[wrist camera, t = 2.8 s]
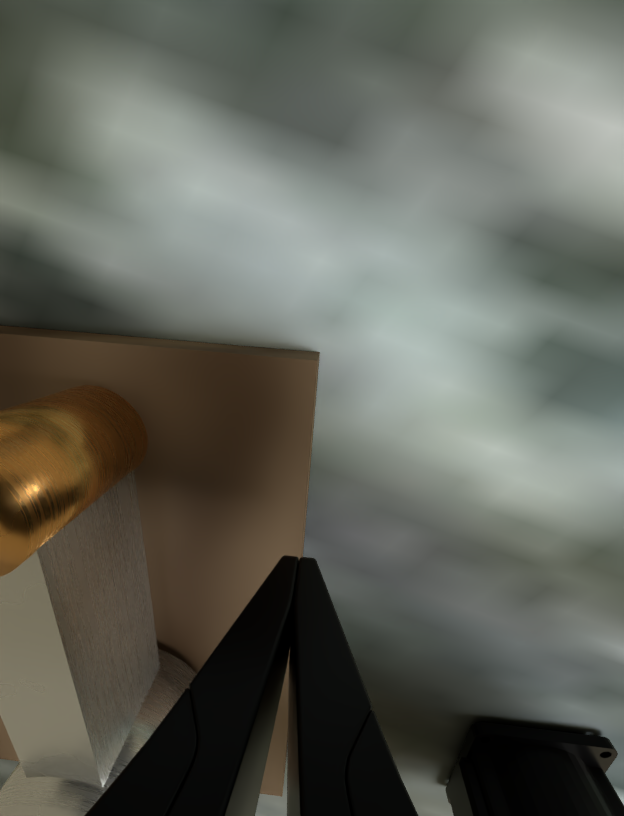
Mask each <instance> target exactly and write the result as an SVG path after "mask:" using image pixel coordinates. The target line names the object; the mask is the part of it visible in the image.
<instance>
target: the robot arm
mask: <svg viewBox="0 0 624 816" xmlns="http://www.w3.org/2000/svg"><path fill="white" fill-rule="evenodd" d="M289 650H290V654H289ZM288 658H289V685H288V773H287V816H418V814H417V812H416V810H415V807H414V805H413V803H412V801H411V799H410V797H409V794H408V792H407V790H406V788H405V786H404V783H403V781H402V779H401V777H400V774H399V772H398V770H397V767H396V765H395V762H394V760H393V757H392V755H391V753H390V750H389V748H388V745H387V743H386V740H385V738H384V735H383V733H382V730H381V728H380V725H379V722H378V720H377V717H376V715H375V712H374V711H372V705H371V702H370V699H369V697H368V694H367V692H366V689H365V686H364V684H363V681H362V679H361V676H360V673H359V671H358V668H357V666H356V663H355V660H354V658H353V655H352V653H351V650H350V647H349V645H348V642H347V639H346V637H345V634H344V632H343V629H342V626H341V624H340V621H339V619H338V616H337V613H336V611H335V608H334V606H333V603H332V600H331V598H330V595H329V593H328V590H327V587H326V585H325V582H324V580H323V577H322V574H321V572H320V569H319V566H318V564H317V561H316V560H315V559H314V558H307V557H300V559H299V558H298V557H297V556H289V555H284V556H282V557H281V559H280V560H279V561H278V563H277V564H276V565H275V567H274V568H273V570H272V571H271V572H270V574H269V575H268V576H267V578H266V579H265V581H264V582H263V583H262V585H261V586H260V587H259V589H258V590H257V592H256V593H255V594H254V596H253V597H252V598H251V600H250V601H249V603H248V604H247V605H246V607H245V608H244V609H243V611H242V612H241V614H240V615H239V616H238V618H237V619H236V620H235V622H234V623H233V625H232V626H231V627H230V629H229V630H228V632H227V633H226V634H225V636H224V637H223V638H222V640H221V641H220V643H219V644H218V645H217V647H216V648H215V649H214V651H213V652H212V654H211V655H210V656H209V658H208V659H207V660H206V662H205V663H204V665H203V666H202V667H201V669H200V670H199V671H198V673H197V674H196V676H195V677H194V678H193V680H192V681H191V682H190V684H189V688H186V689H185V690H184V692H183V693H182V695H181V696H180V697H179V699H178V700H177V701H176V703H175V704H174V706H173V707H172V708H171V710H170V711H169V712H168V714H167V715H166V716H165V718H164V719H163V720H162V722H161V723H160V724H159V725H158V727H157V728H156V729H155V731H154V732H153V733H152V735H151V736H150V737H149V739H148V740H147V741H146V743H145V744H144V745H143V746H142V747H141V749H140V750H139V751H138V752H137V753H136V755H135V756H134V757H133V758H132V760H131V761H130V762H129V763H128V764H127V766H126V767H125V768H124V769H123V770H122V772H121V773H120V774H119V775H118V776H117V778H116V779H115V780H114V781H113V782H112V784H111V785H110V786H109V787H108V788H107V789H106V791H105V792H104V793H103V794H102V795H101V796H100V798H99V799H98V800H97V801H96V802H95V803H94V805H93V806H92V807H91V808H90V809H89V810H88V812H87V813H86V814H85V815H84V816H255V812H256V808H257V803H258V798H259V794H260V789H261V785H262V780H263V775H264V771H265V766H266V761H267V757H268V752H269V748H270V743H271V738H272V734H273V729H274V724H275V720H276V715H277V711H278V706H279V701H280V697H281V692H282V687H283V683H284V678H285V674H286V669H287V663H288ZM617 754H618V753H617V751H616V750H615V748H614V746H613V745H612V743H611V742H610V740H609V739H607V738H605V737H600V736H592V735H584V734H576V733H567V732H559V731H551V730H543V729H535V728H527V727H519V726H511V725H502V724H494V723H486V722H478V723H475V724H473V725H472V726H471V728H470V730H469V733H468V735H467V738H466V740H465V742H464V745H463V747H462V750H461V752H460V755H459V757H458V760H457V762H456V765H455V767H454V769H453V772H452V774H451V777H450V779H449V782H448V784H447V787H446V794H447V798H448V802H449V803H450V804H451V806H452V810H453V814H454V816H624V805H623V803H622V802H621V800H620V798H619V797H618V795H617V793H616V791H615V790H614V788H613V786H612V785H611V783H610V781H609V779H608V778H607V776H606V774H605V772H606V771H607V770H608V768H609V767H610V765H611V764H612V762H613V761H614V760H615V758H616V757H617Z"/></svg>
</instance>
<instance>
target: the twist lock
mask: <svg viewBox="0 0 624 816" xmlns="http://www.w3.org/2000/svg"><path fill="white" fill-rule="evenodd" d="M147 446H148V437H147V432H146V429H145V426H144V423H143V421H142V419H141V418H140V416H139V414H138V413H137V412H136V410H135V409H134V408H133V407H132V406H131V405H130V404H129V403H128V402H127V401H126V400H125V399H124V398H122V397H121V396H119V395H118V394H116V393H114V392H112V391H110V390H108V389H105V388H102V387H98V386H92V385H83V386H77V387H73V388H70V389H67V390H64V391H60V392H57V393H54V394H51V395H48V396H45V397H42V398H38V399H35V400H32V401H29V402H26V403H23V404H20V405H16V406H13V407H10V408H7V409H4V410H1V411H0V716H1V718H2V721H3V723H4V725H5V728H6V730H7V732H8V735H9V737H10V740H11V742H12V744H13V747H14V749H15V751H16V754H17V756H18V759H19V761H20V762H19V764H18V765H17V767H16V768H15V769H14V771H13V772H12V774H11V775H10V777H9V778H8V780H7V781H6V783H5V784H4V786H3V787H2V789H1V790H0V816H84V815H85V814H86V813H87V812H88V810H89V809H90V808H91V807H92V806H93V805H94V803H95V802H96V801H97V800H98V799H99V798H100V796H101V795H102V794H103V793H104V792H105V791H106V789H107V788H108V787H109V786H110V785H111V784H112V782H113V781H114V780H115V779H116V778H117V776H118V775H119V774H120V773H121V772H122V770H123V769H124V768H125V767H126V766H127V764H128V763H129V762H130V761H131V760H132V758H133V757H134V756H135V755H136V753H137V752H138V751H139V750H140V749H141V747H142V746H143V745H144V744H145V743H146V741H147V740H148V739H149V737H150V736H151V735H152V733H153V732H154V731H155V729H156V728H157V727H158V725H159V724H160V723H161V722H162V720H163V719H164V718H165V716H166V715H167V714H168V712H169V711H170V710H171V708H172V707H173V706H174V704H175V703H176V701H177V700H178V699H179V697H180V696H181V695H182V693H183V692H184V690H185V689H186V688H189V684H190V682H191V681H192V680H193V678H194V677H195V676H196V673H195V672H194V671H193V669H192V668H191V667H189V666H188V665H187V664H186V663H185V662H183V661H182V660H180V659H179V658H177V657H175V656H174V655H172V654H170V653H167V652H165V651H163V650H160V649H158V646H157V639H156V631H155V624H154V616H153V608H152V601H151V593H150V586H149V578H148V570H147V563H146V555H145V548H144V540H143V532H142V525H141V517H140V509H139V502H138V494H137V487H136V479H135V471H134V470H135V469H136V468H137V467H138V466H139V465H140V464H141V462H142V461H143V459H144V457H145V455H146V452H147Z"/></svg>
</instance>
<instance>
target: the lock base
mask: <svg viewBox="0 0 624 816" xmlns="http://www.w3.org/2000/svg"><path fill="white" fill-rule="evenodd" d="M319 355H320V352H309V351H297V350H285V349H274V348H262V347H250V346H238V345H226V344H215V343H203V342H191V341H179V340H167V339H156V338H144V337H132V336H120V335H108V334H97V333H85V332H73V331H61V330H49V329H37V328H26V327H14V326H2V325H0V411H1V410H4V409H7V408H10V407H13V406H16V405H20V404H23V403H26V402H29V401H32V400H35V399H38V398H42V397H45V396H48V395H51V394H54V393H57V392H60V391H64V390H67V389H70V388H73V387H77V386H83V385H92V386H98V387H102V388H105V389H108V390H110V391H112V392H114V393H116V394H118V395H119V396H121V397H122V398H124V399H125V400H126V401H127V402H128V403H129V404H130V405H131V406H132V407H133V408H134V409H135V410H136V412H137V413H138V414H139V416H140V418H141V419H142V421H143V423H144V426H145V429H146V432H147V437H148V446H147V452H146V455H145V457H144V459H143V461H142V462H141V464H140V465H139V466H138V467H137V468H136V469H135V470H134V471H135V479H136V487H137V494H138V502H139V509H140V517H141V525H142V532H143V540H144V548H145V555H146V563H147V570H148V578H149V586H150V593H151V601H152V608H153V616H154V624H155V631H156V639H157V646H158V649H160V650H163V651H165V652H167V653H170V654H172V655H174V656H175V657H177V658H179V659H180V660H182V661H183V662H185V663H186V664H187V665H188V666H189V667H191V668H192V669H193V671H194V672H195V673H196V674H197V673H198V671H199V670H200V669H201V667H202V666H203V665H204V663H205V662H206V660H207V659H208V658H209V656H210V655H211V654H212V652H213V651H214V649H215V648H216V647H217V645H218V644H219V643H220V641H221V640H222V638H223V637H224V636H225V634H226V633H227V632H228V630H229V629H230V627H231V626H232V625H233V623H234V622H235V620H236V619H237V618H238V616H239V615H240V614H241V612H242V611H243V609H244V608H245V607H246V605H247V604H248V603H249V601H250V600H251V598H252V597H253V596H254V594H255V593H256V592H257V590H258V589H259V587H260V586H261V585H262V583H263V582H264V581H265V579H266V578H267V576H268V575H269V574H270V572H271V571H272V570H273V568H274V567H275V565H276V564H277V563H278V561H279V560H280V559H281V557H282V556H284V555H289V556H297V557H298V558H299V559H300V557H303V548H304V536H305V524H306V512H307V500H308V488H309V476H310V464H311V452H312V440H313V428H314V416H315V403H316V391H317V379H318V367H319ZM289 654H290V650H289ZM288 685H289V658H288V663H287V669H286V674H285V678H284V683H283V687H282V692H281V697H280V701H279V706H278V711H277V715H276V720H275V724H274V729H273V734H272V738H271V743H270V748H269V752H268V757H267V761H266V766H265V771H264V775H263V780H262V785H261V789H260V793H261V794H268V795H275V796H282V793H283V783H284V773H285V763H286V753H287V741H288ZM0 759H7V760H14V761H19V759H18V756H17V754H16V751H15V749H14V747H13V744H12V742H11V740H10V737H9V735H8V732H7V730H6V728H5V725H4V723H3V721H2V718H1V716H0Z"/></svg>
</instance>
